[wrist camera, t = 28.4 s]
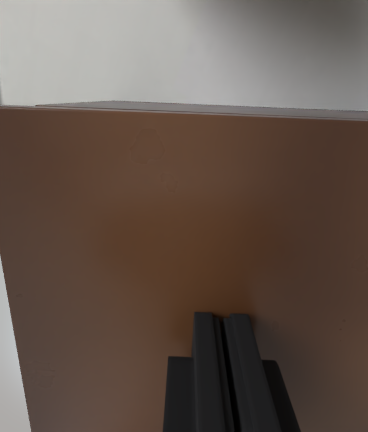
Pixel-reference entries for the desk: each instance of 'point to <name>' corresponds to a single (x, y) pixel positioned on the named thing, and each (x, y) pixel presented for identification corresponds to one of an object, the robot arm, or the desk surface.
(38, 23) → the desk surface
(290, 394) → the lid
